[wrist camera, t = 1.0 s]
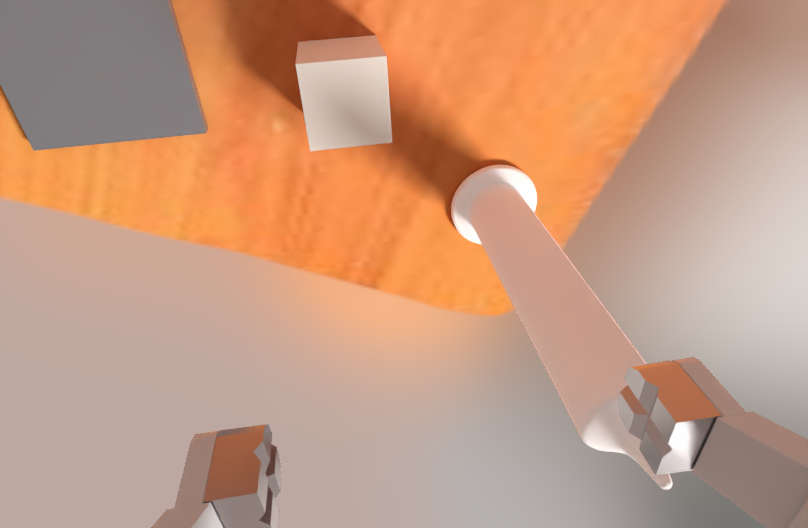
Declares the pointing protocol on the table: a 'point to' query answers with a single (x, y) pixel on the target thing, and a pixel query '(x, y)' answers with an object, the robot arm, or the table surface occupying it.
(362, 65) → the cream block
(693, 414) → the robot arm
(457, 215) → the candle
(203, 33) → the table surface
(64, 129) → the slate plate
